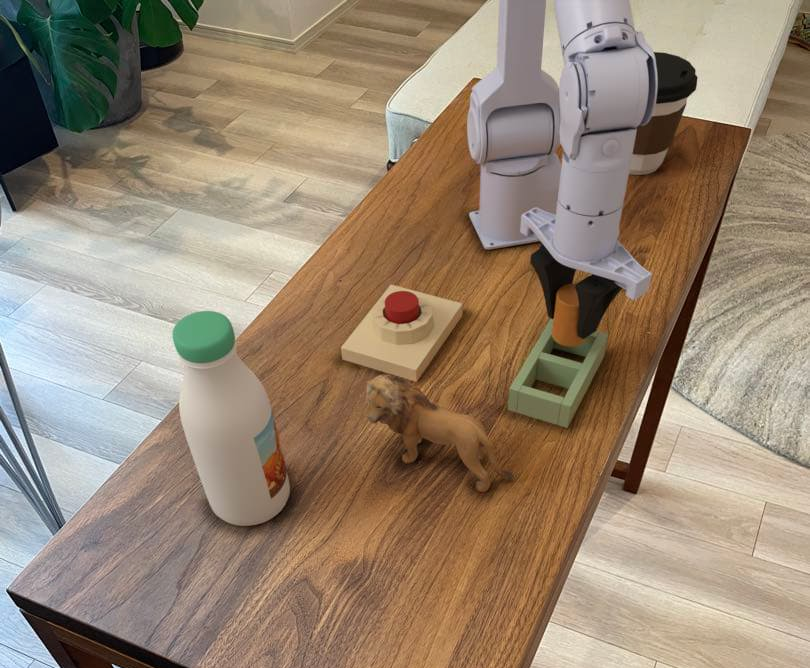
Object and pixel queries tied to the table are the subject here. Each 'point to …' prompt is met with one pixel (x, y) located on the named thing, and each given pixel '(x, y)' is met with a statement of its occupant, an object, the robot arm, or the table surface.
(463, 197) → the table surface
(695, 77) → the coffee cup
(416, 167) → the table surface
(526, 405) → the pod holder
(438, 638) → the table surface
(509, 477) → the lion figurine
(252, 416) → the milk bottle
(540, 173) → the robot arm
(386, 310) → the button
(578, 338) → the cylinder
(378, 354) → the box
